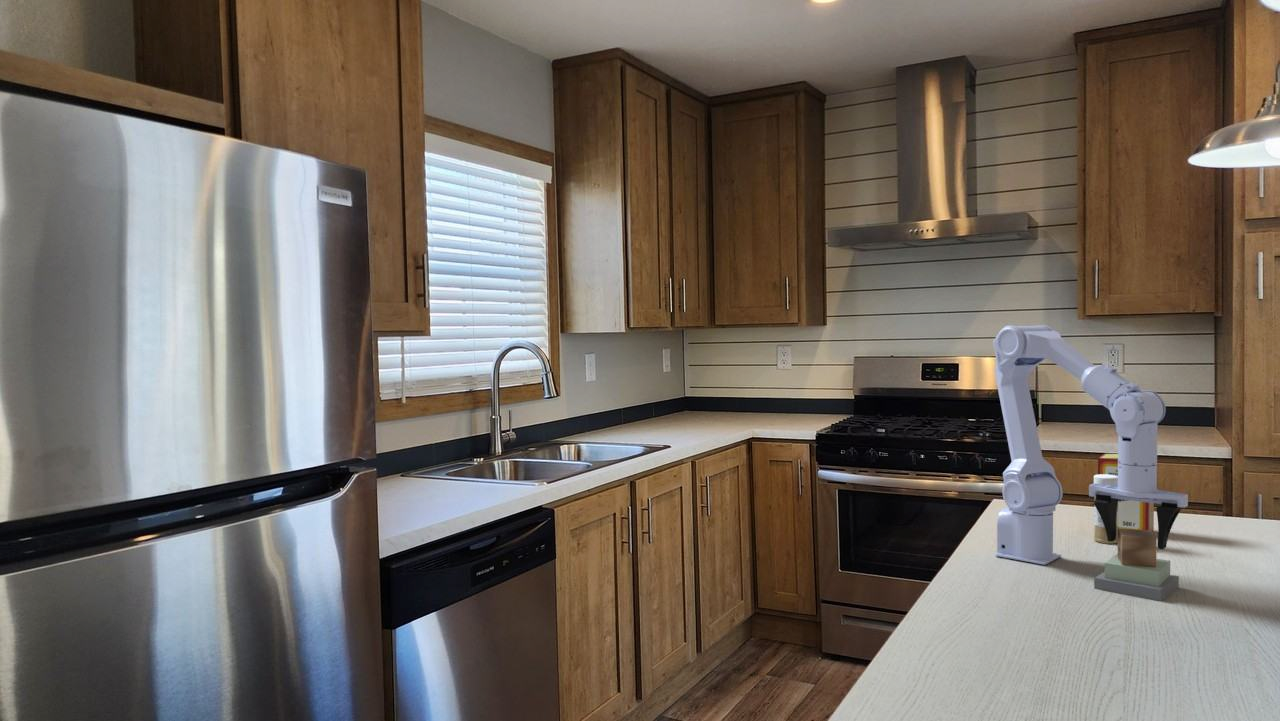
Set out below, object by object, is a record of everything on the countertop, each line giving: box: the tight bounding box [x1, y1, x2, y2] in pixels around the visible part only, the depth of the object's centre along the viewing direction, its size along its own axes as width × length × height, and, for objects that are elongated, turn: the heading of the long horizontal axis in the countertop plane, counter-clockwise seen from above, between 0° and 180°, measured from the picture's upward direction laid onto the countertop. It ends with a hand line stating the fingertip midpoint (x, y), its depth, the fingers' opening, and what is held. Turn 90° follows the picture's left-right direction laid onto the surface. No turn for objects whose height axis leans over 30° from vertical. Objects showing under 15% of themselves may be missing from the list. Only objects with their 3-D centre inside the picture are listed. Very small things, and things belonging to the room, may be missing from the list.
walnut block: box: [1117, 529, 1158, 568], centre depth 149 cm, size 5×5×5 cm
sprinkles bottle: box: [1093, 473, 1119, 545], centre depth 179 cm, size 5×5×13 cm
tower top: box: [1104, 553, 1171, 587], centre depth 150 cm, size 8×8×2 cm
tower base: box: [1093, 571, 1180, 602], centre depth 149 cm, size 10×10×2 cm
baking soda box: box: [1097, 453, 1155, 532], centre depth 188 cm, size 10×6×16 cm
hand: (1136, 543), depth 149 cm, fingers open, 7 cm apart
